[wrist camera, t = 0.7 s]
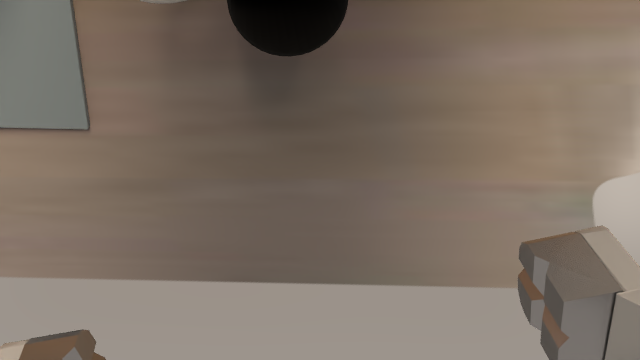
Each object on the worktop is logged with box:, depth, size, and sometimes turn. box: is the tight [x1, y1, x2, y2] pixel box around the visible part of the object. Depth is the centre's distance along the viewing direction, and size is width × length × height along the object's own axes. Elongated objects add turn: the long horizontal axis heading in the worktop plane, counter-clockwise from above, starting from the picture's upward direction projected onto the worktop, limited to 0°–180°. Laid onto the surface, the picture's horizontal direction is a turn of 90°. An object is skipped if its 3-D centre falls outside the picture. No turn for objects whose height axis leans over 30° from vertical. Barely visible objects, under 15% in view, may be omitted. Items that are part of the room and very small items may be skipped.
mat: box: [0, 0, 90, 129], centre depth 51 cm, size 14×12×1 cm
